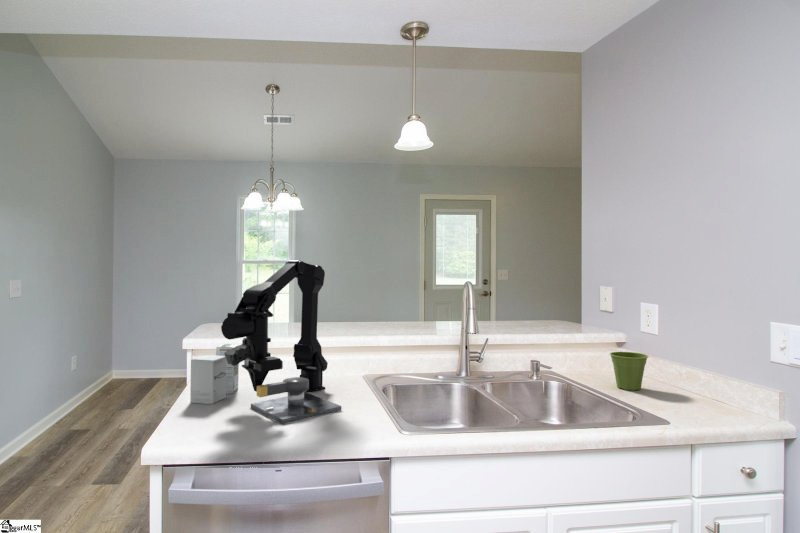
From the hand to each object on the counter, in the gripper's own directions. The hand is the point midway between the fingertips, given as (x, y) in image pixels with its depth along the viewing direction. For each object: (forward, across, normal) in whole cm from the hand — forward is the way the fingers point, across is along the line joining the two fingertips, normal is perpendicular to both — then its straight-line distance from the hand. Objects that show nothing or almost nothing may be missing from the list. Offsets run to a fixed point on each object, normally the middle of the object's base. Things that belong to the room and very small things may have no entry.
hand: (256, 391), depth 135 cm
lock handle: (0, +6, +5) cm, 8 cm away
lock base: (+5, +6, +8) cm, 12 cm away
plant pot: (+5, +57, +104) cm, 119 cm away
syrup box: (+5, -24, +2) cm, 24 cm away
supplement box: (+5, -18, -6) cm, 19 cm away
